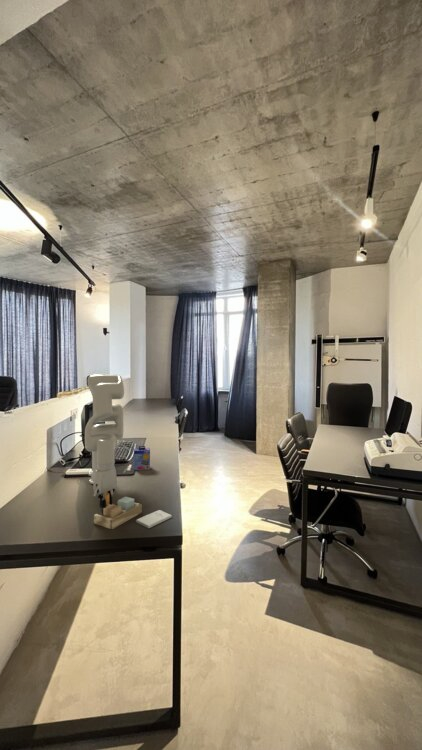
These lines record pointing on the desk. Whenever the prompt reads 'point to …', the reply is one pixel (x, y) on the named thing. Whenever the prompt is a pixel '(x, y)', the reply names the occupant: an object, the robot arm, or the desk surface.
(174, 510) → the desk surface
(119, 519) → the shelf lanes
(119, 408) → the robot arm
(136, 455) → the ink cartridge box
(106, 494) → the block
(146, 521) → the external hard drive
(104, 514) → the plain block
